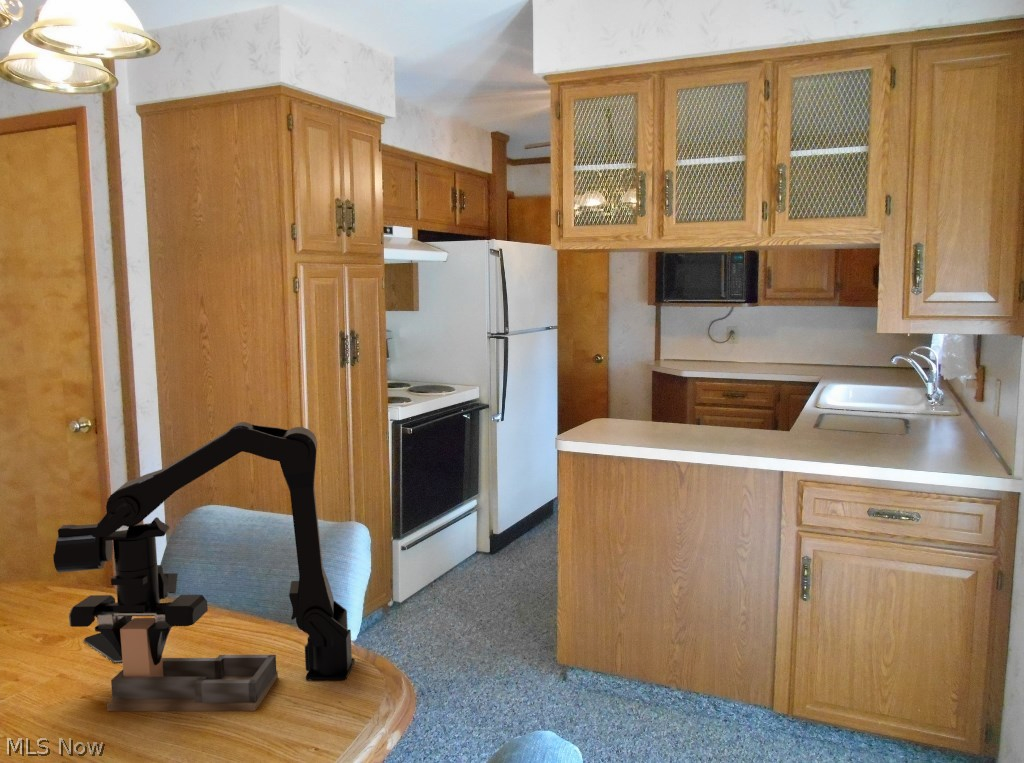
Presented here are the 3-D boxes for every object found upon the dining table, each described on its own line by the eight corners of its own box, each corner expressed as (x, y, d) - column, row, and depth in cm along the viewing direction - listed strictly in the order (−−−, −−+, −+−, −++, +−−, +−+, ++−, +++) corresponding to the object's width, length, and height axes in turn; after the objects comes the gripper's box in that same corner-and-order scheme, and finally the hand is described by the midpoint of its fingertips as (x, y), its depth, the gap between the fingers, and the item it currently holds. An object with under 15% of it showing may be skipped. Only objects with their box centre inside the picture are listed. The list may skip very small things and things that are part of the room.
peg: (163, 679, 118) (159, 617, 117) (150, 692, 114) (146, 629, 113) (138, 679, 119) (134, 618, 117) (124, 692, 115) (120, 629, 113)
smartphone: (125, 624, 142) (162, 646, 132) (125, 628, 142) (162, 650, 132) (80, 638, 136) (116, 662, 126) (81, 642, 136) (116, 666, 126)
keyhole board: (277, 677, 121) (276, 653, 121) (255, 710, 111) (253, 684, 111) (142, 677, 122) (140, 653, 121) (107, 711, 112) (105, 685, 111)
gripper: (219, 547, 122) (224, 640, 124) (105, 548, 123) (112, 640, 124) (188, 572, 111) (194, 673, 113) (63, 572, 112) (71, 674, 113)
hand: (143, 663), depth 116 cm, fingers closed on peg, 4 cm apart
